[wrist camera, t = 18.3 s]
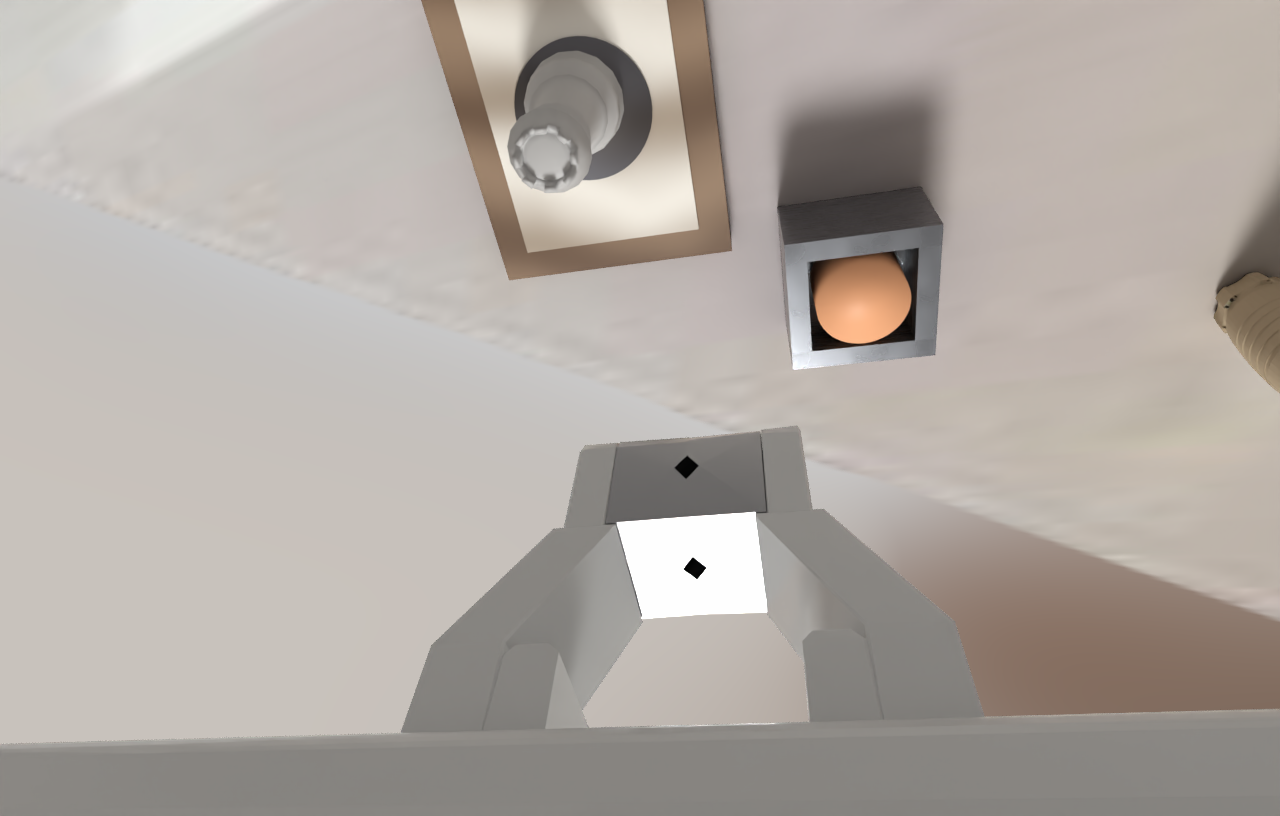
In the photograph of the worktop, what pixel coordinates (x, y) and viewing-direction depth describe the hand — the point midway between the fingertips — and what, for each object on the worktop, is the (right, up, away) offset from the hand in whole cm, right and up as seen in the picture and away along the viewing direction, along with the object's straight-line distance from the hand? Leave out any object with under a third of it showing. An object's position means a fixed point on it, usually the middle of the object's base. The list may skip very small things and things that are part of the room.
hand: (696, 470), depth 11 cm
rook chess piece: (-4, +15, +24) cm, 28 cm away
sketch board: (-3, +15, +25) cm, 30 cm away
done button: (+10, +8, +28) cm, 30 cm away
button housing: (+10, +9, +29) cm, 32 cm away
